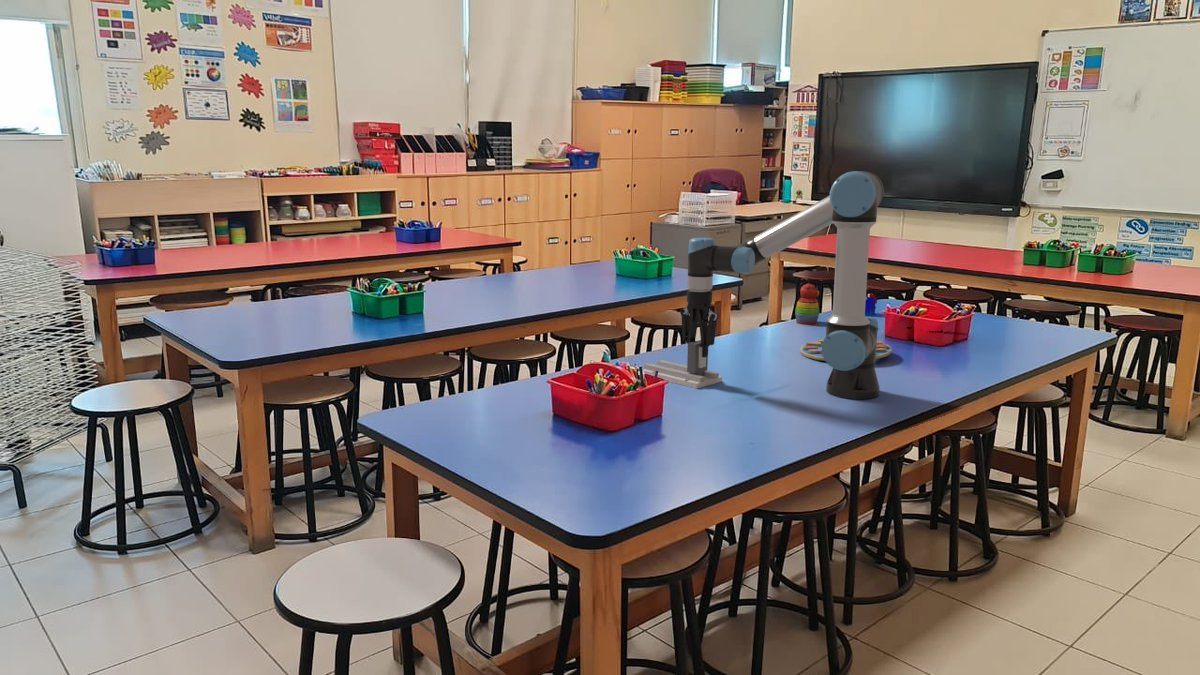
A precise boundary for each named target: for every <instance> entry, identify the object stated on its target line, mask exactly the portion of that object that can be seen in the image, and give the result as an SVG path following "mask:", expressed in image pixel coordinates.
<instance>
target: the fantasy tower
mask: <svg viewBox="0 0 1200 675" xmlns="http://www.w3.org/2000/svg"><path fill="white" fill-rule="evenodd" d="M867 294H868V292H867V291H866V302H865V317H874V316H875V315H876V314H875V313H876V308H877V306H876V304H878V299H877V296H875V294H874V293H872V292H870V293H869V295H868V296H867Z"/></svg>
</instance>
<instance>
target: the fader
mask: <svg viewBox="0 0 1200 675" xmlns="http://www.w3.org/2000/svg"><path fill="white" fill-rule="evenodd" d="M700 345H701V339H700V340H695V342H690V343H687V357H686V358H687V360H686V361H687V362H686V363H687V364H686V366H687V372H689V373H693V374H697V375H701V376H704V371H707V370H708V360H709V356H708V357H706V367H703V368H698V364H699V347H700Z"/></svg>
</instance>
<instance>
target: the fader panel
mask: <svg viewBox="0 0 1200 675" xmlns="http://www.w3.org/2000/svg"><path fill="white" fill-rule="evenodd" d="M656 362H657V363H656V364H653V363H649V362H648V363H644V364H643V368H642V369H643V371H644V372H645V373H648V374H652V375H654V374H655V371H656V370H657V371H658V376H659V377H661V378H664V379H668V380H669V382H670V383H672V384H675V385H676V384H678V385H681V386H685V387H688V388H693V389H701V388H703V387H708V386H710V385H715V384H718V383H721V382H722V381H723V376H721V375H720V372H717V371H711V370H708V369H707V371H704V376H701V375H697V374H693V373H689V372H687V364H681V363H679V362H678V363H677V362H673V361H669V360H664V359H662V360H661V359H660V360H658V361H656ZM719 375H720V376H719Z"/></svg>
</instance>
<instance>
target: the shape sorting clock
mask: <svg viewBox="0 0 1200 675" xmlns="http://www.w3.org/2000/svg"><path fill="white" fill-rule="evenodd" d="M824 339H825V338H823V339H822V338H821V339H818V340H817V341H813V342H810V341H809V342H806V344H804V345H801V347H800V349H799V353H800V354H801V355H802V356H804V357H806V358H809V359H813V360H815V361H820V362H826V361H825V359H824V358H823V355H822V344H823V341H824ZM892 351H893V350H892V346H891V345H889V344H888V343H887V344H886V343H883V341H882V340H878V339H877V346H876V359H875V365H877V364H878V362H879V360H880V359H882V358H885V357H888V356H890V354H892Z"/></svg>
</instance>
